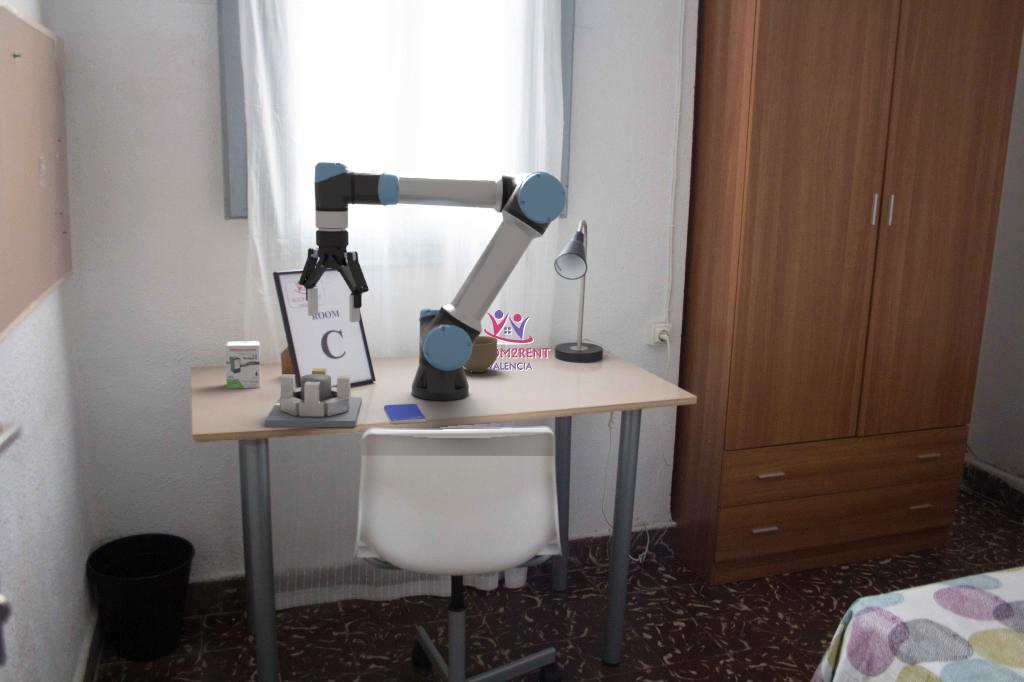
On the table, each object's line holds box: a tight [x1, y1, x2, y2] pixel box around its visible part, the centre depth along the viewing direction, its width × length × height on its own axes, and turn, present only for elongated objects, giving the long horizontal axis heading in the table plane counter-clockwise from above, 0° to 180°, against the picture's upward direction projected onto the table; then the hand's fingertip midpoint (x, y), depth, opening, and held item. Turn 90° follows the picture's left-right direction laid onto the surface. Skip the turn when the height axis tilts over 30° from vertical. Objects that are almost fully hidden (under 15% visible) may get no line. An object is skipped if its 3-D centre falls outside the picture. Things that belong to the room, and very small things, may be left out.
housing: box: [264, 373, 363, 428], centre depth 195 cm, size 20×20×9 cm
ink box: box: [225, 340, 261, 390], centre depth 216 cm, size 9×5×12 cm, turn 107°
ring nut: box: [279, 367, 352, 417], centre depth 195 cm, size 16×16×8 cm
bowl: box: [463, 335, 498, 373], centre depth 243 cm, size 13×13×10 cm
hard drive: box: [383, 403, 427, 425], centre depth 198 cm, size 2×8×12 cm
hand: (333, 318), depth 197 cm, fingers open, 13 cm apart
